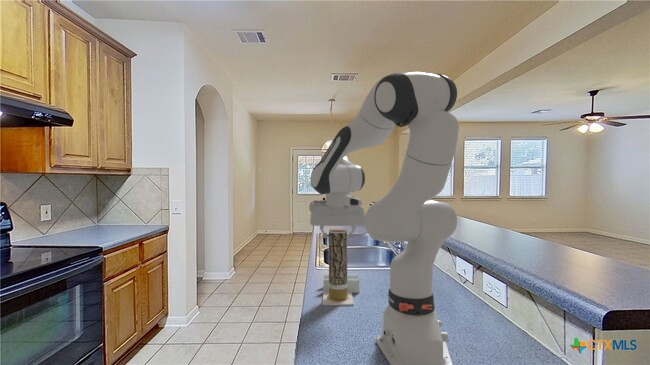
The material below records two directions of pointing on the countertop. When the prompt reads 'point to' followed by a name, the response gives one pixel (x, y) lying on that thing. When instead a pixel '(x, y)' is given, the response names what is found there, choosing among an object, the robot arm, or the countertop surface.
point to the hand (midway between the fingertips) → (337, 237)
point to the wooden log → (338, 264)
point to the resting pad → (329, 301)
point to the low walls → (351, 283)
